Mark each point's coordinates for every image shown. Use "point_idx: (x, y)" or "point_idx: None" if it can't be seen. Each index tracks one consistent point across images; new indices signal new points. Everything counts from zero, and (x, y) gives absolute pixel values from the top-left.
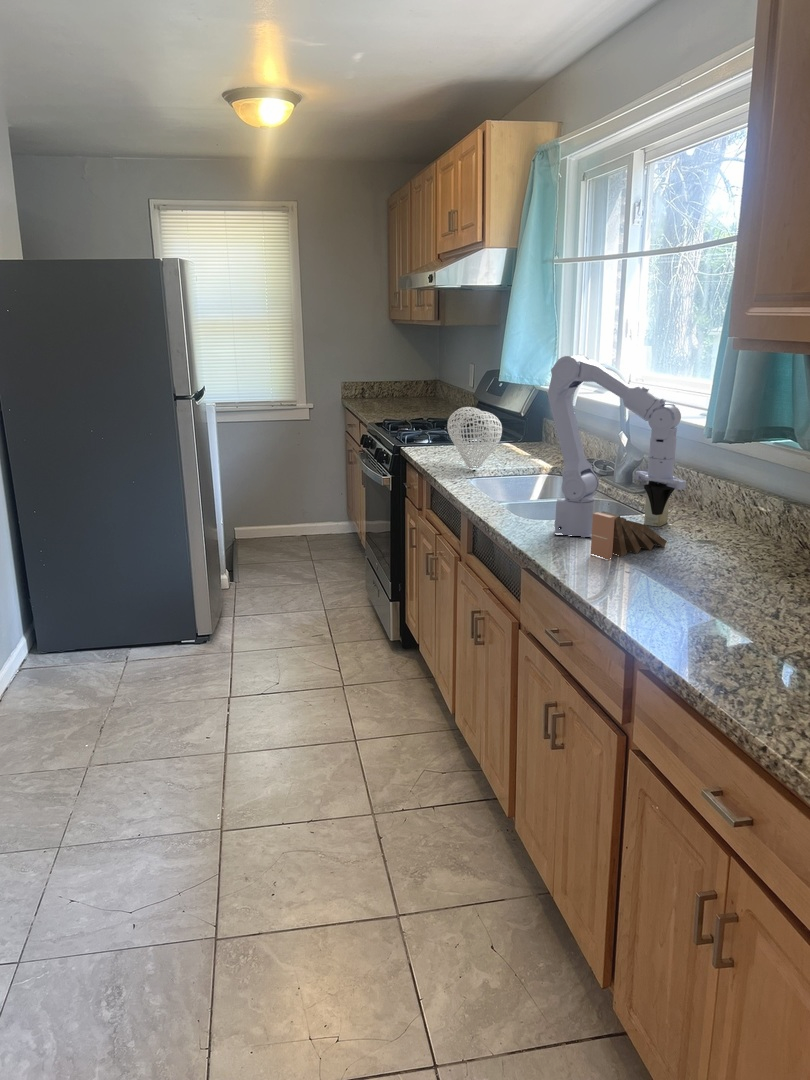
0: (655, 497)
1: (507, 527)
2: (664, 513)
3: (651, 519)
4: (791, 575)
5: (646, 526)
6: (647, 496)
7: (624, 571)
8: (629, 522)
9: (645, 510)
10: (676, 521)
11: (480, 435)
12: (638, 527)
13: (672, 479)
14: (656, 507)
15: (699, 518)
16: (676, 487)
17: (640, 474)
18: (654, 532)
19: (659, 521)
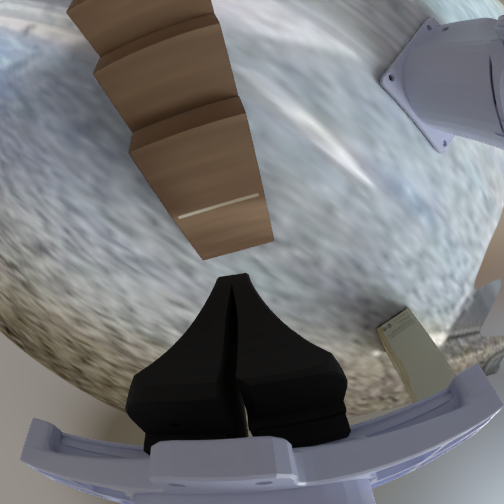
0: (198, 338)
1: (496, 13)
2: (392, 361)
3: (400, 327)
4: (11, 334)
5: (138, 165)
6: (441, 361)
7: (34, 23)
8: (120, 57)
9: (425, 332)
10: (381, 368)
11: None
12: (116, 108)
13: (106, 492)
14: (207, 300)
15: (368, 398)
16: (46, 431)
17: (456, 423)
18: (169, 211)
19: (381, 337)
